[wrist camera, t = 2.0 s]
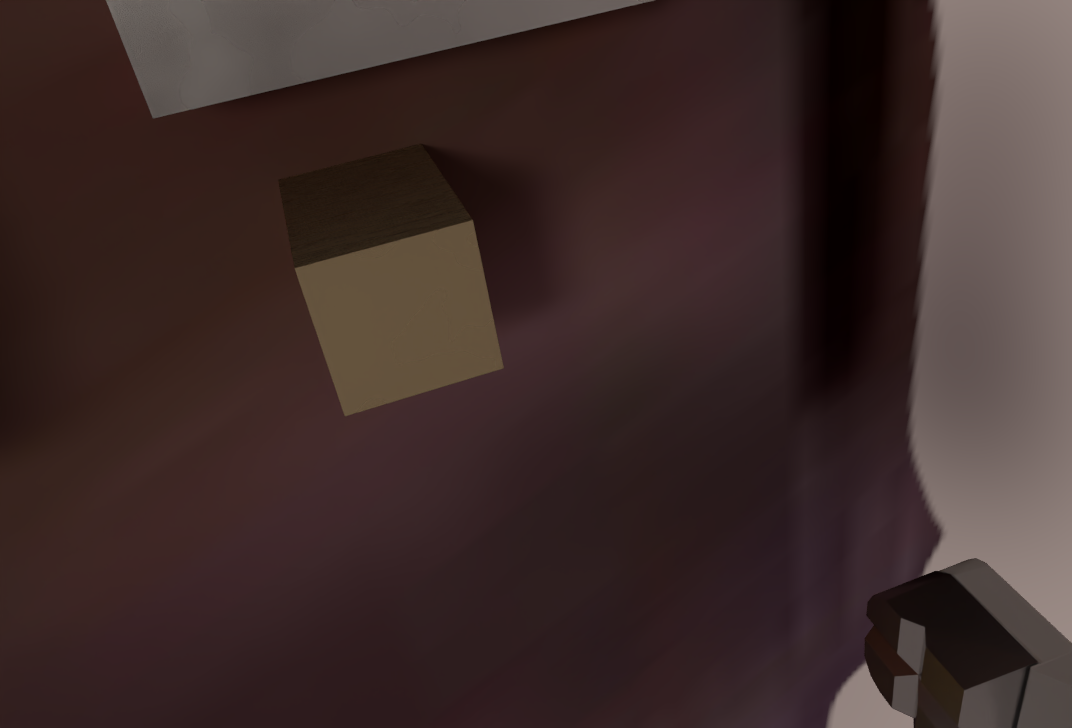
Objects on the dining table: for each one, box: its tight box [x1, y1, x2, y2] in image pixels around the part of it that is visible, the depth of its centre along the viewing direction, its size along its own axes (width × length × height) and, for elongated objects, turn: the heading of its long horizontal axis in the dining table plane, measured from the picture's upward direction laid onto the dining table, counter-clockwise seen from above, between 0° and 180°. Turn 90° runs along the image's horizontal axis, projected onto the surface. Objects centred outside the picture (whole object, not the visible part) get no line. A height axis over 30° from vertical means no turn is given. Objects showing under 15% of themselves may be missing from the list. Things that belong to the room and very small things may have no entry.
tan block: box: [278, 144, 504, 416], centre depth 23 cm, size 4×4×6 cm
